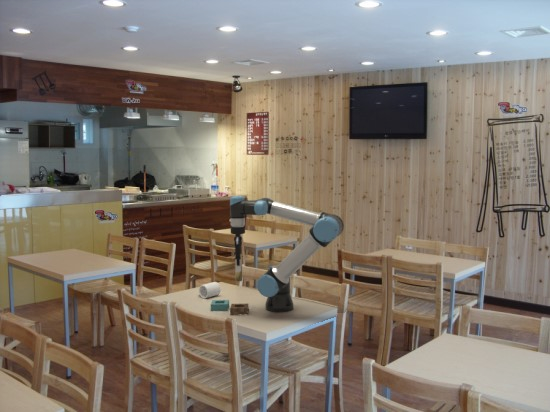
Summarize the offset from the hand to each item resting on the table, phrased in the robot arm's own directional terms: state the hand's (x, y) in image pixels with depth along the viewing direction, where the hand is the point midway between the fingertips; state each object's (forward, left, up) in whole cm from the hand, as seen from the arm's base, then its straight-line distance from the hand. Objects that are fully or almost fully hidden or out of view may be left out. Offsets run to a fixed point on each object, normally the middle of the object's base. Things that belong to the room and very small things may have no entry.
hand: (238, 270), depth 300 cm
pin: (0, 0, -5) cm, 5 cm away
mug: (+21, -35, -23) cm, 47 cm away
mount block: (0, 0, -22) cm, 22 cm away
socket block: (+11, -8, -22) cm, 26 cm away
